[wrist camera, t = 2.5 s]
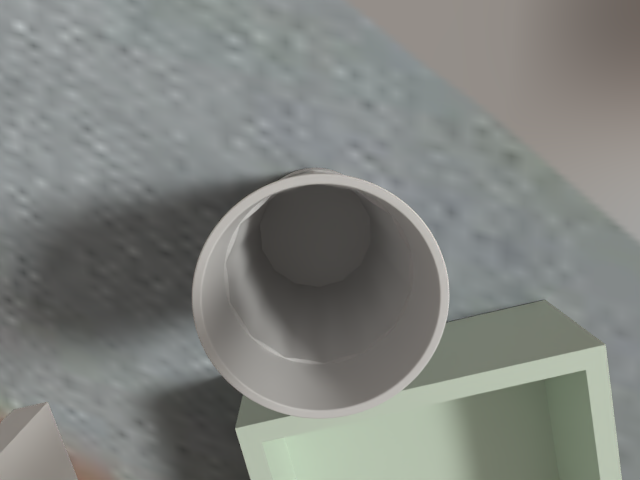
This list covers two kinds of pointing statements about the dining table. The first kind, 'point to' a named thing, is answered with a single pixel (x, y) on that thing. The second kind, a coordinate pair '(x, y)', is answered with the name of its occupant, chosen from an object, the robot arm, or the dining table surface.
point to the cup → (320, 295)
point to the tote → (463, 413)
